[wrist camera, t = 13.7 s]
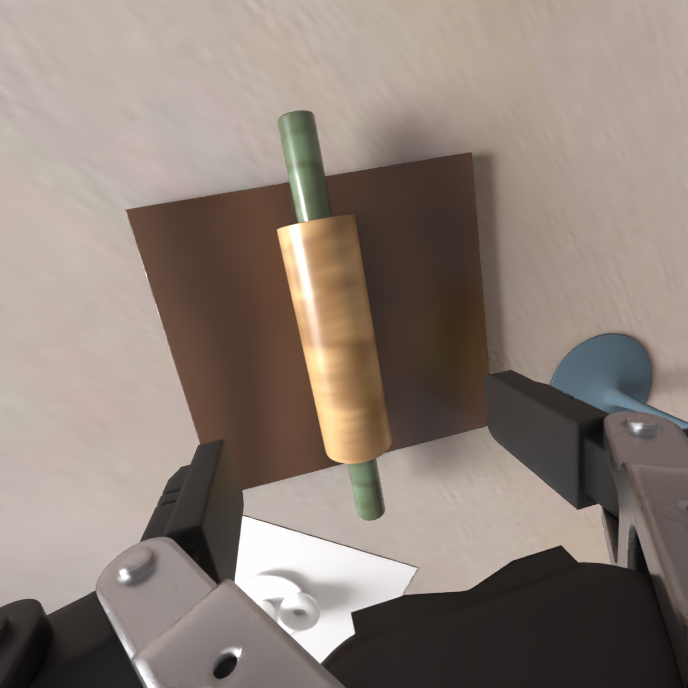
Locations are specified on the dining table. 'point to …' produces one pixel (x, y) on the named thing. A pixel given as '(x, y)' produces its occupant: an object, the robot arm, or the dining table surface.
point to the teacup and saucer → (313, 583)
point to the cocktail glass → (609, 376)
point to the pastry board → (280, 320)
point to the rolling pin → (334, 318)
